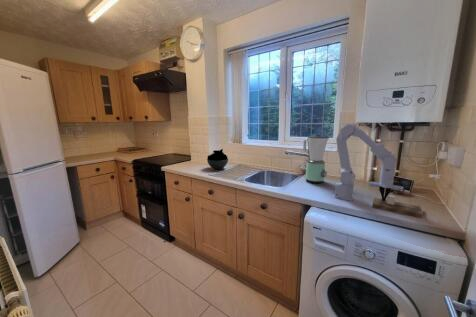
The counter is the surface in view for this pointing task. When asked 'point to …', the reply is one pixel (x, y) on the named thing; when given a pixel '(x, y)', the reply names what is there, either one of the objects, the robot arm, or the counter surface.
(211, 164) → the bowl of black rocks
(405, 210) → the brown flat slab
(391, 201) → the fader
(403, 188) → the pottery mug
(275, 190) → the counter surface
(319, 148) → the green blender
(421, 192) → the counter surface
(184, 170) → the counter surface
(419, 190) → the counter surface
